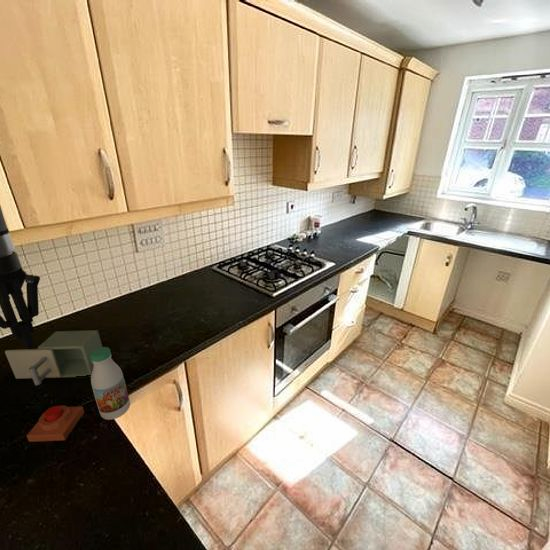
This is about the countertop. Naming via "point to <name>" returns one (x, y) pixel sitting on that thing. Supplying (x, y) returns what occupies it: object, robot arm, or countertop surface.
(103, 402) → the milk bottle
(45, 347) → the cupboard
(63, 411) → the button box
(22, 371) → the slide door
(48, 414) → the button
